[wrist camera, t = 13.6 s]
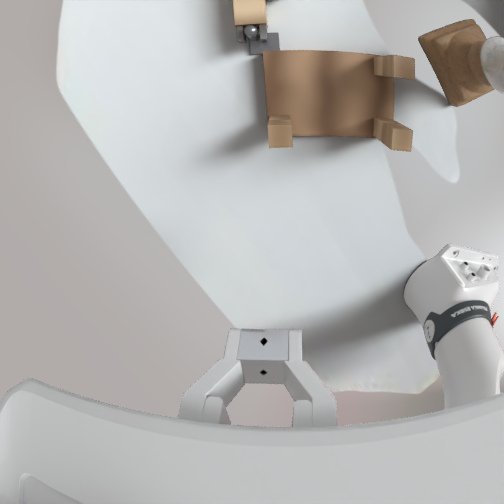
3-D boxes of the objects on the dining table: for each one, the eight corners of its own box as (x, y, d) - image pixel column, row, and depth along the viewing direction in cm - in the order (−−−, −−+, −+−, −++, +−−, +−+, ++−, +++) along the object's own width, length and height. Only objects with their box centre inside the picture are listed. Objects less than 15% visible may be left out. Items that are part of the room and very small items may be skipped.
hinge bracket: (277, 29, 28) (277, 23, 24) (279, 52, 30) (279, 49, 26) (248, 31, 29) (243, 25, 25) (250, 54, 31) (245, 51, 27)
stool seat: (387, 57, 28) (416, 56, 21) (386, 135, 35) (413, 154, 27) (263, 52, 30) (258, 46, 23) (269, 132, 37) (266, 150, 29)
